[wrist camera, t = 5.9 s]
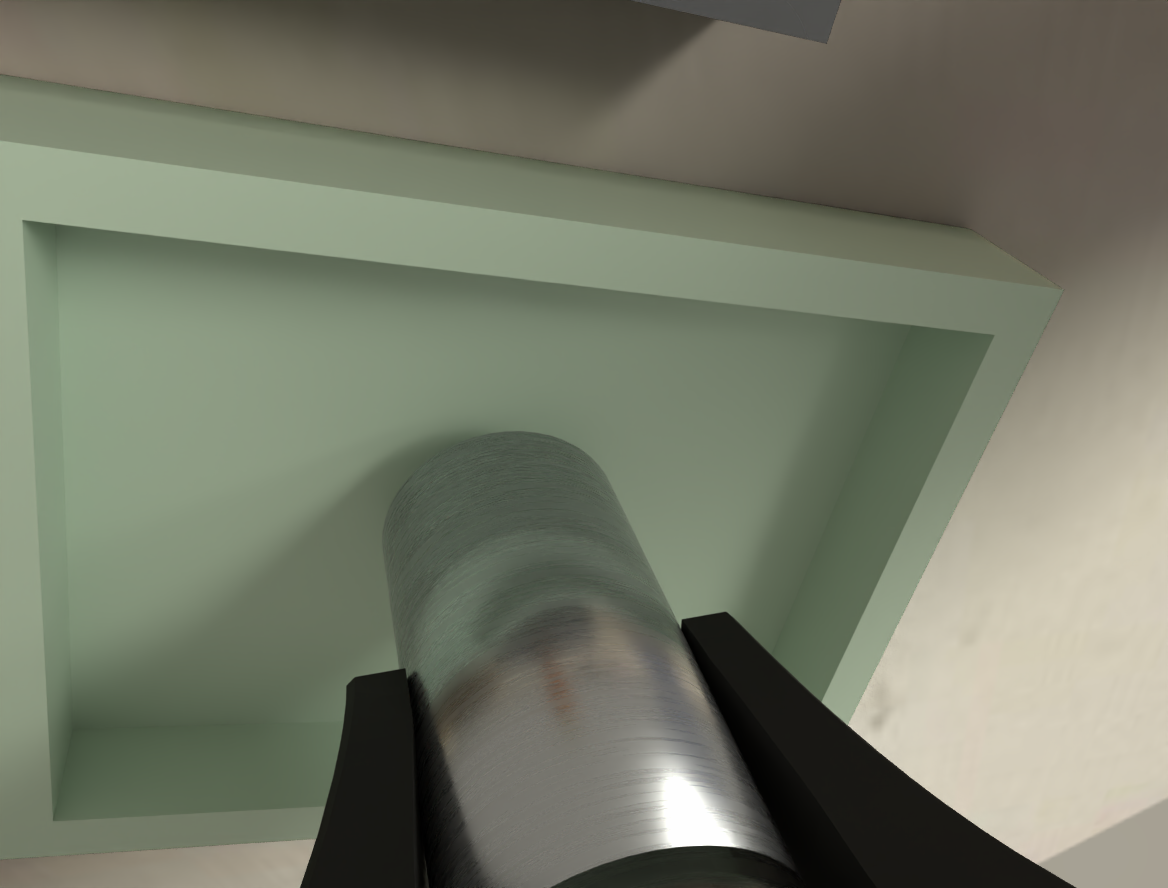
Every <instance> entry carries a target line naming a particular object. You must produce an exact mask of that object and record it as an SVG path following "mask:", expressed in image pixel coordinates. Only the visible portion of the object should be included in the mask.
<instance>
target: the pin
mask: <svg viewBox="0 0 1168 888" xmlns="http://www.w3.org/2000/svg"><path fill="white" fill-rule="evenodd" d="M382 548H383V555H384V563H385V570H386V577H387V585H388V592H389V599H390V606H391V614H392V621H393V628H394V636H395V643H396V650H397V657H398V665H399V669H403V668H405V669H406V675H407V682H408V689H409V695H410V702H411V709H412V715H413V723H414V731H415V739H416V751H417V772H418V791H419V806H420V822H421V832H422V840H423V847H424V854H425V861H426V869H427V876H428V883H429V888H806V886H805V884H804V881H803V879H802V877H801V875H800V873H799V871H798V869H797V867H796V865H795V863H794V861H793V859H792V857H791V855H790V853H789V851H788V849H787V846H786V844H785V842H784V840H783V838H782V836H781V834H780V832H779V830H778V828H777V826H776V824H775V822H774V820H773V818H772V816H771V813H770V811H769V809H768V807H767V805H766V803H765V801H764V799H763V797H762V795H761V793H760V791H759V789H758V787H757V785H756V783H755V780H754V778H753V776H752V774H751V772H750V770H749V768H748V766H747V764H746V762H745V760H744V758H743V756H742V754H741V752H740V750H739V747H738V745H737V743H736V741H735V739H734V737H733V735H732V733H731V731H730V729H729V727H728V725H727V723H726V721H725V719H724V717H723V714H722V712H721V710H720V708H719V706H718V704H717V702H716V700H715V698H714V696H713V694H712V692H711V690H710V688H709V686H708V684H707V681H706V679H705V677H704V675H703V673H702V671H701V669H700V667H699V665H698V663H697V661H696V659H695V657H694V655H693V653H692V651H691V648H690V646H689V644H688V642H687V640H686V638H685V636H684V634H683V632H682V630H681V628H680V626H679V624H678V622H677V620H676V618H675V615H674V613H673V611H672V609H671V607H670V605H669V603H668V601H667V599H666V597H665V595H664V593H663V591H662V589H661V587H660V585H659V582H658V580H657V578H656V576H655V574H654V572H653V570H652V568H651V566H650V564H649V562H648V560H647V558H646V556H645V554H644V552H643V549H642V547H641V545H640V543H639V541H638V539H637V537H636V535H635V533H634V531H633V529H632V527H631V525H630V523H629V521H628V519H627V516H626V514H625V512H624V510H623V508H622V506H621V504H620V502H619V500H618V498H617V496H616V494H615V492H614V490H613V488H612V486H611V484H610V482H609V480H608V478H607V476H606V474H605V473H604V471H603V470H602V469H601V467H600V466H599V465H598V464H597V463H596V462H595V461H594V460H593V459H592V458H591V457H590V456H589V455H588V454H587V453H585V452H584V451H582V450H581V449H580V448H578V447H576V446H574V445H573V444H571V443H569V442H567V441H565V440H562V439H559V438H556V437H553V436H550V435H545V434H541V433H535V432H525V431H505V432H497V433H490V434H485V435H481V436H477V437H473V438H470V439H468V440H465V441H462V442H460V443H457V444H455V445H453V446H451V447H449V448H447V449H445V450H443V451H441V452H440V453H438V454H437V455H435V456H433V457H432V458H430V459H429V460H428V461H426V462H425V463H424V464H423V465H421V466H420V467H419V468H418V469H417V470H416V471H415V472H414V473H413V474H412V475H411V476H410V477H409V478H408V479H407V480H406V481H405V483H404V484H403V485H402V487H401V488H400V489H399V491H398V492H397V494H396V495H395V497H394V499H393V501H392V503H391V505H390V507H389V510H388V512H387V515H386V518H385V522H384V527H383V533H382Z"/></svg>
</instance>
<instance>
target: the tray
mask: <svg viewBox="0 0 1168 888" xmlns="http://www.w3.org/2000/svg"><path fill="white" fill-rule="evenodd" d="M1063 291H1064V290H1063V289H1062V288H1060V287H1059V286H1057V285H1056V284H1054V283H1053V282H1051V281H1050V280H1048V279H1046V278H1045V277H1043V276H1042V275H1040V274H1039V273H1037V272H1036V271H1034V270H1033V269H1031V268H1029V267H1028V266H1026V265H1025V264H1023V263H1022V262H1020V261H1019V260H1017V259H1016V258H1014V257H1013V256H1011V255H1009V254H1008V253H1006V252H1005V251H1003V250H1002V249H1000V248H999V247H997V246H996V245H994V244H992V243H991V242H989V241H988V240H986V239H985V238H983V237H982V236H980V235H979V234H977V233H976V232H974V231H972V230H971V229H967V228H961V227H954V226H948V225H942V224H936V223H929V222H923V221H917V220H911V219H904V218H898V217H892V216H885V215H879V214H873V213H867V212H860V211H854V210H848V209H842V208H835V207H829V206H823V205H816V204H810V203H804V202H798V201H791V200H785V199H779V198H773V197H766V196H760V195H754V194H747V193H741V192H735V191H729V190H722V189H716V188H710V187H704V186H697V185H691V184H685V183H678V182H672V181H666V180H660V179H653V178H647V177H641V176H635V175H628V174H622V173H616V172H609V171H603V170H597V169H591V168H584V167H578V166H572V165H566V164H559V163H553V162H547V161H540V160H534V159H528V158H522V157H515V156H509V155H503V154H497V153H490V152H484V151H478V150H471V149H465V148H459V147H453V146H446V145H440V144H434V143H428V142H421V141H415V140H409V139H403V138H396V137H390V136H384V135H377V134H371V133H365V132H359V131H352V130H346V129H340V128H334V127H327V126H321V125H315V124H308V123H302V122H296V121H290V120H283V119H277V118H271V117H265V116H258V115H252V114H246V113H239V112H233V111H227V110H221V109H214V108H208V107H202V106H196V105H189V104H183V103H177V102H170V101H164V100H158V99H152V98H145V97H139V96H133V95H127V94H120V93H114V92H108V91H101V90H95V89H89V88H83V87H76V86H70V85H64V84H58V83H51V82H45V81H39V80H32V79H26V78H20V77H14V76H7V75H1V74H0V860H4V859H19V858H34V857H49V856H64V855H79V854H94V853H109V852H125V851H140V850H155V849H170V848H185V847H200V846H215V845H230V844H245V843H261V842H276V841H291V840H306V839H316V838H317V835H318V831H319V828H320V824H321V820H322V817H323V813H324V809H325V805H326V802H327V798H328V794H329V790H330V787H331V783H332V779H333V775H334V770H335V765H336V761H337V756H338V751H339V747H340V741H341V735H342V729H343V723H344V714H345V706H346V685H347V684H348V683H349V682H350V681H351V680H352V679H353V678H354V677H358V676H363V675H369V674H375V673H380V672H386V671H392V670H397V669H399V665H398V657H397V650H396V643H395V636H394V628H393V621H392V614H391V606H390V599H389V592H388V585H387V577H386V570H385V563H384V555H383V548H382V533H383V527H384V522H385V518H386V515H387V512H388V510H389V507H390V505H391V503H392V501H393V499H394V497H395V495H396V494H397V492H398V491H399V489H400V488H401V487H402V485H403V484H404V483H405V481H406V480H407V479H408V478H409V477H410V476H411V475H412V474H413V473H414V472H415V471H416V470H417V469H418V468H419V467H420V466H421V465H423V464H424V463H425V462H426V461H428V460H429V459H430V458H432V457H433V456H435V455H437V454H438V453H440V452H441V451H443V450H445V449H447V448H449V447H451V446H453V445H455V444H457V443H460V442H462V441H465V440H468V439H470V438H473V437H477V436H481V435H485V434H490V433H497V432H505V431H525V432H535V433H541V434H545V435H550V436H553V437H556V438H559V439H562V440H565V441H567V442H569V443H571V444H573V445H574V446H576V447H578V448H580V449H581V450H582V451H584V452H585V453H587V454H588V455H589V456H590V457H591V458H592V459H593V460H594V461H595V462H596V463H597V464H598V465H599V466H600V467H601V469H602V470H603V471H604V473H605V474H606V476H607V478H608V480H609V482H610V484H611V486H612V488H613V490H614V492H615V494H616V496H617V498H618V500H619V502H620V504H621V506H622V508H623V510H624V512H625V514H626V516H627V519H628V521H629V523H630V525H631V527H632V529H633V531H634V533H635V535H636V537H637V539H638V541H639V543H640V545H641V547H642V549H643V552H644V554H645V556H646V558H647V560H648V562H649V564H650V566H651V568H652V570H653V572H654V574H655V576H656V578H657V580H658V582H659V585H660V587H661V589H662V591H663V593H664V595H665V597H666V599H667V601H668V603H669V605H670V607H671V609H672V611H673V613H674V615H675V618H676V620H677V622H678V624H679V626H680V628H681V621H682V619H686V618H692V617H698V616H703V615H709V614H715V613H720V612H727V613H729V614H730V615H731V616H732V617H734V618H735V619H736V620H737V621H738V622H739V623H740V624H741V625H742V626H743V627H744V628H745V629H746V630H747V631H748V632H749V633H750V634H751V635H752V636H753V637H754V638H755V639H756V640H757V641H758V642H759V643H760V644H761V645H762V646H763V647H764V648H765V649H766V650H767V651H768V652H769V653H770V654H771V655H772V656H773V657H774V658H775V659H776V660H777V661H778V662H779V663H780V664H781V665H782V666H783V667H784V668H786V669H787V670H788V671H789V672H790V673H791V674H792V675H793V676H794V677H795V678H796V679H797V680H798V681H799V682H800V683H801V684H802V685H803V686H804V687H806V688H807V689H808V690H809V691H810V692H811V693H812V694H813V695H814V696H815V697H816V698H817V699H818V700H820V701H821V702H822V703H823V704H824V705H825V706H826V707H827V708H829V709H830V710H831V711H832V712H833V713H834V714H835V715H836V716H838V717H839V718H840V719H841V720H842V721H843V722H844V723H846V724H847V725H848V723H849V721H850V719H851V717H852V715H853V713H854V711H855V709H856V707H857V705H858V703H859V701H860V699H861V697H862V695H863V693H864V691H865V689H866V687H867V685H868V683H869V681H870V679H871V677H872V675H873V673H874V671H875V669H876V667H877V665H878V663H879V661H880V659H881V657H882V655H883V653H884V651H885V649H886V647H887V645H888V643H889V641H890V639H891V637H892V635H893V633H894V631H895V629H896V627H897V625H898V623H899V621H900V619H901V617H902V615H903V613H904V611H905V609H906V607H907V605H908V603H909V601H910V599H911V597H912V595H913V593H914V591H915V589H916V587H917V585H918V583H919V581H920V579H921V577H922V575H923V573H924V571H925V569H926V567H927V565H928V563H929V561H930V559H931V557H932V555H933V553H934V551H935V549H936V547H937V545H938V543H939V541H940V539H941V537H942V535H943V532H944V530H945V528H946V526H947V524H948V522H949V520H950V518H951V516H952V514H953V512H954V510H955V508H956V506H957V504H958V502H959V500H960V498H961V496H962V494H963V492H964V490H965V488H966V486H967V484H968V482H969V480H970V478H971V476H972V474H973V472H974V470H975V468H976V466H977V464H978V462H979V460H980V458H981V456H982V454H983V452H984V450H985V448H986V446H987V444H988V442H989V440H990V438H991V436H992V434H993V432H994V430H995V428H996V426H997V424H998V422H999V420H1000V418H1001V416H1002V414H1003V412H1004V410H1005V408H1006V406H1007V404H1008V402H1009V400H1010V398H1011V396H1012V394H1013V392H1014V390H1015V388H1016V386H1017V384H1018V382H1019V380H1020V378H1021V376H1022V374H1023V372H1024V370H1025V368H1026V366H1027V364H1028V362H1029V360H1030V358H1031V356H1032V354H1033V352H1034V350H1035V348H1036V346H1037V344H1038V342H1039V340H1040V338H1041V336H1042V334H1043V331H1044V329H1045V327H1046V325H1047V323H1048V321H1049V319H1050V317H1051V315H1052V313H1053V311H1054V309H1055V307H1056V305H1057V303H1058V301H1059V299H1060V297H1061V295H1062V293H1063Z"/></svg>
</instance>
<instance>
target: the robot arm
mask: <svg viewBox="0 0 1168 888" xmlns="http://www.w3.org/2000/svg"><path fill="white" fill-rule="evenodd" d="M681 630H682V632H683V634H684V636H685V638H686V640H687V642H688V644H689V646H690V648H691V651H692V653H693V655H694V657H695V659H696V661H697V663H698V665H699V667H700V669H701V671H702V673H703V675H704V677H705V679H706V681H707V684H708V686H709V688H710V690H711V692H712V694H713V696H714V698H715V700H716V702H717V704H718V706H719V708H720V710H721V712H722V714H723V717H724V719H725V721H726V723H727V725H728V727H729V729H730V731H731V733H732V735H733V737H734V739H735V741H736V743H737V745H738V747H739V750H740V752H741V754H742V756H743V758H744V760H745V762H746V764H747V766H748V768H749V770H750V772H751V774H752V776H753V778H754V780H755V783H756V785H757V787H758V789H759V791H760V793H761V795H762V797H763V799H764V801H765V803H766V805H767V807H768V809H769V811H770V813H771V816H772V818H773V820H774V822H775V824H776V826H777V828H778V830H779V832H780V834H781V836H782V838H783V840H784V842H785V844H786V846H787V849H788V851H789V853H790V855H791V857H792V859H793V861H794V863H795V865H796V867H797V869H798V871H799V873H800V875H801V877H802V879H803V881H804V884H805V886H806V888H1076V887H1074V886H1073V885H1071V884H1069V883H1067V882H1065V881H1064V880H1062V879H1060V878H1059V877H1057V876H1056V875H1054V874H1052V873H1051V872H1049V871H1047V870H1046V869H1044V868H1042V867H1041V866H1039V865H1037V864H1035V863H1034V862H1032V861H1030V860H1029V859H1027V858H1025V857H1024V856H1022V855H1020V854H1019V853H1017V852H1015V851H1014V850H1012V849H1011V848H1009V847H1008V846H1006V845H1005V844H1003V843H1002V842H1000V841H999V840H997V839H995V838H994V837H992V836H991V835H989V834H988V833H986V832H985V831H983V830H982V829H980V828H979V827H977V826H976V825H975V824H973V823H972V822H970V821H969V820H968V819H966V818H965V817H963V816H962V815H960V814H959V813H958V812H956V811H955V810H953V809H952V808H950V807H949V806H948V805H946V804H945V803H943V802H942V801H941V800H939V799H938V798H937V797H935V796H934V795H933V794H931V793H930V792H929V791H927V790H926V789H925V788H923V787H922V786H921V785H920V784H918V783H917V782H916V781H914V780H913V779H912V778H910V777H909V776H908V775H907V774H905V773H904V772H903V771H902V770H900V769H899V768H898V767H897V766H895V765H894V764H893V763H892V762H890V761H889V760H888V759H887V758H886V757H884V756H883V755H882V754H881V753H879V752H878V751H877V750H876V749H875V748H873V747H872V746H871V745H870V744H869V743H867V742H866V741H865V740H864V739H863V738H862V737H860V736H859V735H858V734H857V733H856V732H855V731H853V730H852V729H851V728H850V727H849V726H848V725H847V724H846V723H844V722H843V721H842V720H841V719H840V718H839V717H838V716H836V715H835V714H834V713H833V712H832V711H831V710H830V709H829V708H827V707H826V706H825V705H824V704H823V703H822V702H821V701H820V700H818V699H817V698H816V697H815V696H814V695H813V694H812V693H811V692H810V691H809V690H808V689H807V688H806V687H804V686H803V685H802V684H801V683H800V682H799V681H798V680H797V679H796V678H795V677H794V676H793V675H792V674H791V673H790V672H789V671H788V670H787V669H786V668H784V667H783V666H782V665H781V664H780V663H779V662H778V661H777V660H776V659H775V658H774V657H773V656H772V655H771V654H770V653H769V652H768V651H767V650H766V649H765V648H764V647H763V646H762V645H761V644H760V643H759V642H758V641H757V640H756V639H755V638H754V637H753V636H752V635H751V634H750V633H749V632H748V631H747V630H746V629H745V628H744V627H743V626H742V625H741V624H740V623H739V622H738V621H737V620H736V619H735V618H734V617H732V616H731V615H730V614H729V613H727V612H720V613H715V614H709V615H703V616H698V617H692V618H686V619H682V621H681ZM300 888H429V883H428V876H427V869H426V861H425V854H424V847H423V840H422V832H421V822H420V806H419V791H418V772H417V751H416V739H415V731H414V723H413V715H412V709H411V702H410V695H409V689H408V682H407V675H406V669H405V668H403V669H397V670H392V671H386V672H380V673H375V674H369V675H363V676H358V677H354V678H353V679H352V680H351V681H350V682H349V683H348V684H347V685H346V706H345V714H344V723H343V729H342V735H341V741H340V747H339V751H338V756H337V761H336V765H335V770H334V775H333V779H332V783H331V787H330V790H329V794H328V798H327V802H326V805H325V809H324V813H323V817H322V820H321V824H320V828H319V831H318V835H317V838H316V841H315V845H314V848H313V851H312V854H311V857H310V860H309V863H308V866H307V869H306V872H305V875H304V878H303V881H302V884H301V887H300Z"/></svg>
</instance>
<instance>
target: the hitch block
mask: <svg viewBox="0 0 1168 888" xmlns="http://www.w3.org/2000/svg"><path fill="white" fill-rule="evenodd" d="M631 1H636V2H640V3H645V4H649V5H654V6H658V7H663V8H668V9H672V10H677V11H681V12H686V13H690V14H695V15H699V16H704V17H708V18H713V19H717V20H722V21H726V22H731V23H736V24H740V25H745V26H749V27H754V28H758V29H763V30H767V31H772V32H776V33H781V34H785V35H790V36H794V37H799V38H803V39H808V40H813V41H817V42H822V43H826V44H827V41H828V38H829V35H830V32H831V29H832V26H833V23H834V20H835V17H836V14H837V11H838V8H839V5H840V2H841V0H631Z"/></svg>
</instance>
